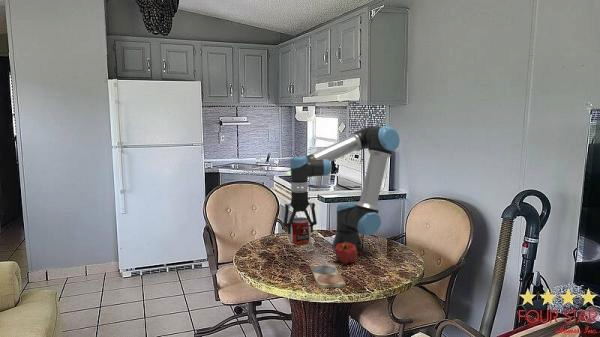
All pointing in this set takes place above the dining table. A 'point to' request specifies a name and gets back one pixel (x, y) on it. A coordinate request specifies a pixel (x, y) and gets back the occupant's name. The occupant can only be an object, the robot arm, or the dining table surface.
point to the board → (327, 276)
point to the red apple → (346, 252)
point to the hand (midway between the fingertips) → (300, 240)
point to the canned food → (300, 231)
